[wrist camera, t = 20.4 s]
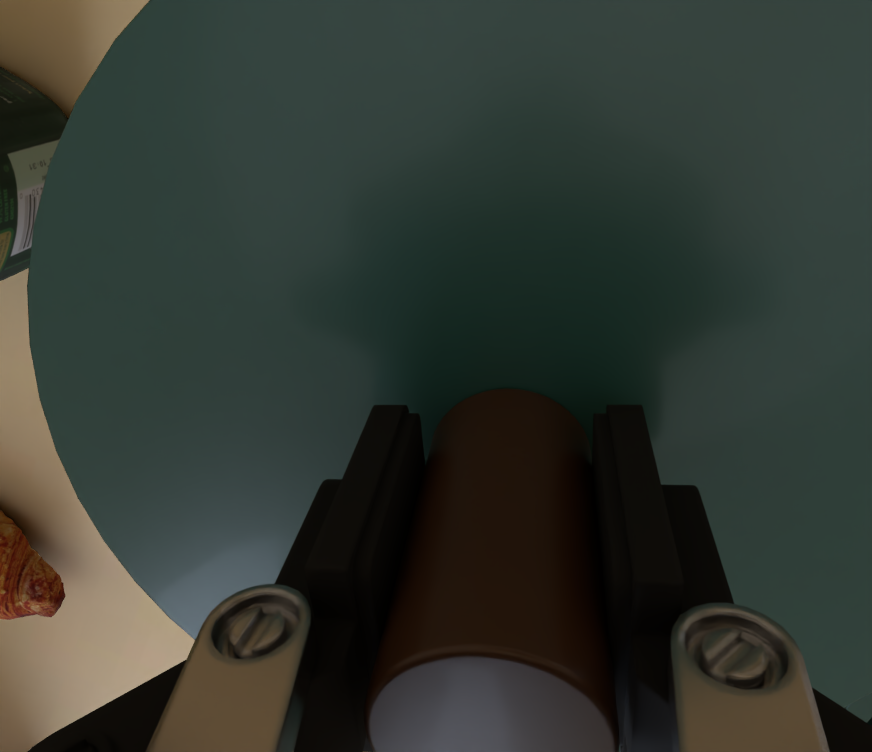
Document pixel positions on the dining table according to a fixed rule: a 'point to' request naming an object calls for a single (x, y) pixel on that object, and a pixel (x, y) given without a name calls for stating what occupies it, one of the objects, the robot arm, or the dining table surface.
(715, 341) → the tin lid
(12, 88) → the coffee jar
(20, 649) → the dining table surface
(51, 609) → the croissant
